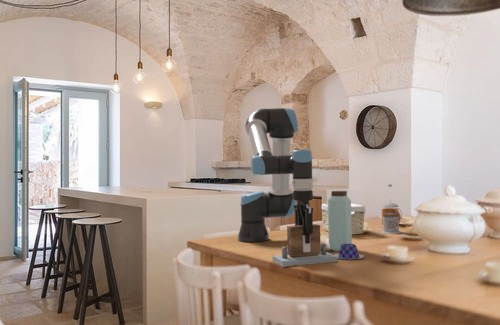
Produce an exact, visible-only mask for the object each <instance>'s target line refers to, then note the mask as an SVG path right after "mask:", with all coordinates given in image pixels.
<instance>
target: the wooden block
mask: <svg viewBox="0 0 500 325" xmlns="http://www.w3.org/2000/svg"><path fill="white" fill-rule="evenodd" d="M286 230H287V231H286V238H287V239H286V240H287V241H286V242H287V246H286V247H287V254H288V255H289V256H291V257H294V256H305V255H316V254H321V244H322V242H321V225H320V224H317V223H313V234H311V235H310V252H303V235H302V234H304V231H303V225H296V226H293V225H287V226H286Z"/></svg>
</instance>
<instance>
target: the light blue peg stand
mask: <svg viewBox="0 0 500 325" xmlns="http://www.w3.org/2000/svg"><path fill="white" fill-rule="evenodd" d="M272 262H274V263H276V264H277V265H279V266H280V267H282V268H284V267H295V266H294V265H297V266H305V265H306V264H307V265H315V264H316V265H317V263H318V264H325V263H326V264H327V263H328V264H329V263H336V262H338V258H337V256H335V254H332V253H331V252H328V251H327V244H326V243H321V254H316V255H305V256H294V257H291V256H289V255H288V247H287V246H282V247H281V254H277V255H272Z"/></svg>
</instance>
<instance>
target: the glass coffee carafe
mask: <svg viewBox="0 0 500 325" xmlns="http://www.w3.org/2000/svg"><path fill="white" fill-rule="evenodd" d="M395 210H397V209H396V207H394V208H391V213H397V215H384V213H390V208H388V207H384V208H381V224H382V225H383V216H396V217H397V216H398V218H399V224H400V222H401V220H402V218H401V212H400V211H399V212H398V210H399V209H398V210H397V211H395ZM399 214H400V216H399ZM400 219H401V220H400ZM396 221H397V219H396ZM396 223H397V222H396ZM391 225H392V224H391Z"/></svg>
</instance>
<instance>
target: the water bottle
mask: <svg viewBox="0 0 500 325" xmlns="http://www.w3.org/2000/svg"><path fill="white" fill-rule="evenodd" d="M347 192H348V191H347V190H333V191H331V194H330V197H329V198H328V199H327V204H328V228H329V232H328V246H329V245H330V247H329V249H330V250H331V249H332V250H333V251H334V252H340V247H341V245H342V244H353V238H352V237H353V235H352V227H351V203H352V200H351V199H350V197H348V195H347V194H348V193H347ZM332 250H331V251H332ZM333 251H332V252H333Z"/></svg>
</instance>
